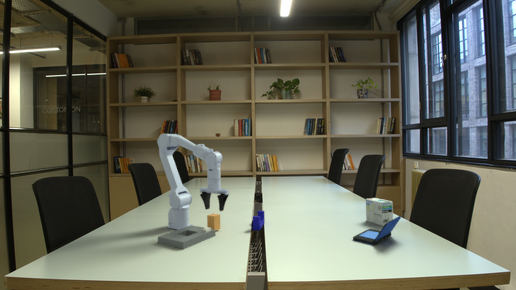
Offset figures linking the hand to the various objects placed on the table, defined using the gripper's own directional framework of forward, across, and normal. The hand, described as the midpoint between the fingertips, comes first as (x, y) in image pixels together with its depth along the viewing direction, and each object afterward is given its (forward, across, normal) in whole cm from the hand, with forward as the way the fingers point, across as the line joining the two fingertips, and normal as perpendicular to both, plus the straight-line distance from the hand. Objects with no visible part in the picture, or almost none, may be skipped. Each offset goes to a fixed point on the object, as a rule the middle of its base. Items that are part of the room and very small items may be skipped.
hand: (214, 209), depth 128 cm
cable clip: (+10, +14, +15) cm, 22 cm away
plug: (+9, -1, 0) cm, 9 cm away
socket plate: (+9, -4, -14) cm, 17 cm away
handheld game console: (+9, +65, +18) cm, 68 cm away
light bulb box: (+9, +63, +44) cm, 77 cm away
